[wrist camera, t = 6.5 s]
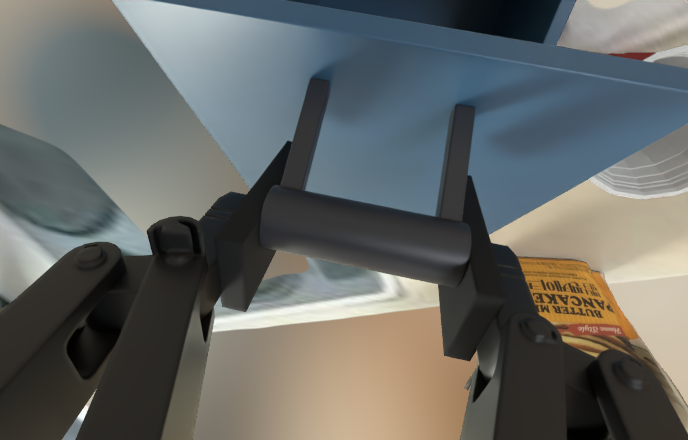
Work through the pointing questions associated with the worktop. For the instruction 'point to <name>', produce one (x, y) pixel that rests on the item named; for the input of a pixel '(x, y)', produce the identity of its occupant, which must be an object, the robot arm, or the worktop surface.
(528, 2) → the blue hollow box
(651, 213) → the worktop surface
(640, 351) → the pancake mix bag
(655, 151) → the plastic cup
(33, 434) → the robot arm
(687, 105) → the lid
